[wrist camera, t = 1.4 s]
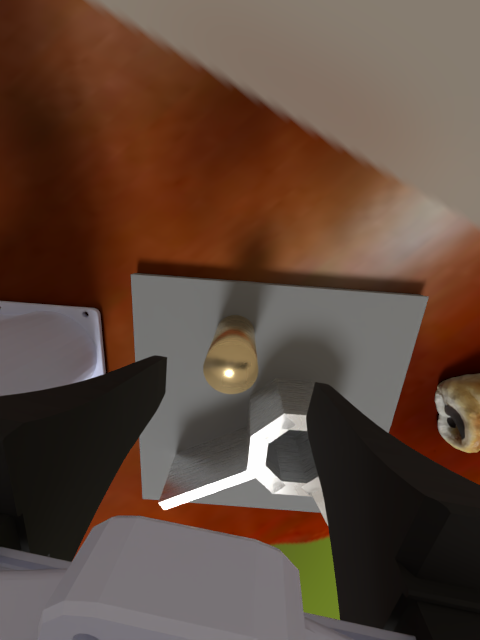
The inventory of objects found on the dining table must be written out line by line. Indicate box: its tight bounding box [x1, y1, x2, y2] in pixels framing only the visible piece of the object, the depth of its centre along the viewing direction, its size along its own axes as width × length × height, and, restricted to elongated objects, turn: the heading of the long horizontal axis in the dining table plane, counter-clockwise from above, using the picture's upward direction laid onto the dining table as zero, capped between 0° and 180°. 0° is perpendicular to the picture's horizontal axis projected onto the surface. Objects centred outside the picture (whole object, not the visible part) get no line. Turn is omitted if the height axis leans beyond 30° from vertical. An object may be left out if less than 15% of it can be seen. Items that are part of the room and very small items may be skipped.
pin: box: [203, 315, 258, 394], centre depth 16 cm, size 3×3×6 cm
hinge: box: [159, 378, 328, 525], centre depth 19 cm, size 16×13×4 cm
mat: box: [131, 273, 428, 513], centre depth 21 cm, size 22×22×1 cm
